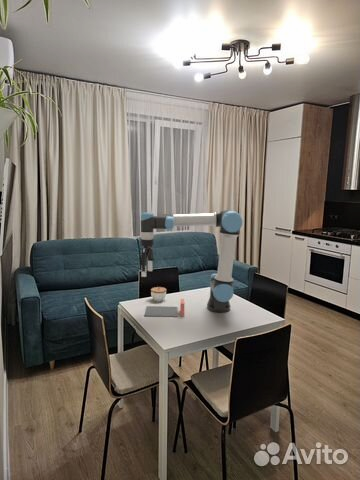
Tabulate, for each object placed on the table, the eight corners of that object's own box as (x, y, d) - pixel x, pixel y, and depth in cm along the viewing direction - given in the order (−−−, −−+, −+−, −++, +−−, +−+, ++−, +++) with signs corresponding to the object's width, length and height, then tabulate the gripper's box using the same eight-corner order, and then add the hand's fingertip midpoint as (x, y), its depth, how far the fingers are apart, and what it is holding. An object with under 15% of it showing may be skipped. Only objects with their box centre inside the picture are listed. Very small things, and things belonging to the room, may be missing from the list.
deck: (183, 310, 206) (184, 298, 205) (184, 316, 197) (184, 303, 196) (180, 310, 206) (180, 298, 205) (180, 316, 197) (180, 303, 196)
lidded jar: (169, 299, 227) (169, 286, 226) (160, 303, 218) (160, 290, 217) (156, 296, 233) (157, 283, 231) (147, 300, 224) (147, 287, 222)
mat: (177, 307, 212) (177, 306, 212) (177, 317, 196) (177, 316, 196) (146, 307, 211) (146, 306, 211) (144, 316, 196) (144, 315, 195)
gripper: (146, 235, 204) (146, 268, 208) (134, 241, 180) (134, 278, 183) (158, 236, 203) (158, 269, 206) (147, 242, 179) (147, 279, 182)
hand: (147, 273), depth 195 cm, fingers open, 13 cm apart
